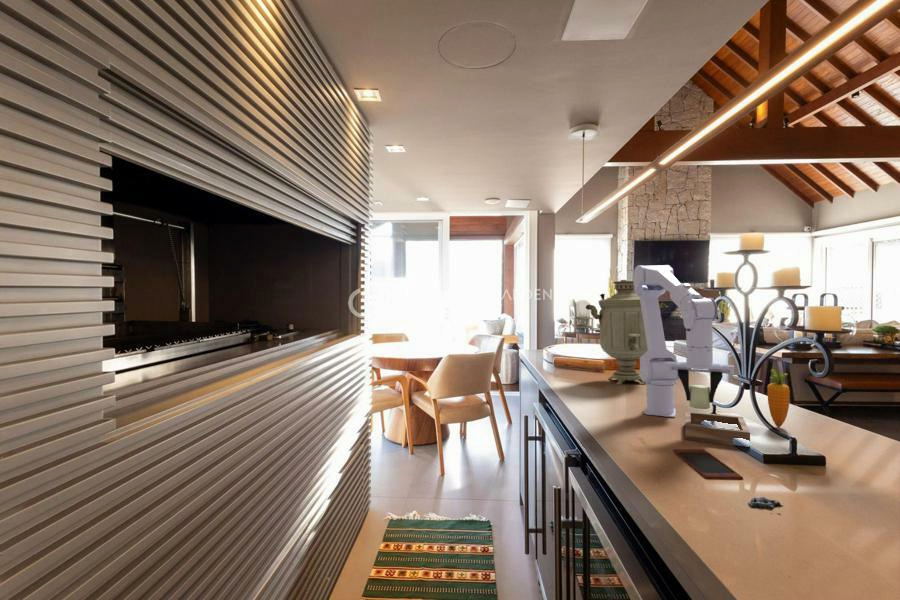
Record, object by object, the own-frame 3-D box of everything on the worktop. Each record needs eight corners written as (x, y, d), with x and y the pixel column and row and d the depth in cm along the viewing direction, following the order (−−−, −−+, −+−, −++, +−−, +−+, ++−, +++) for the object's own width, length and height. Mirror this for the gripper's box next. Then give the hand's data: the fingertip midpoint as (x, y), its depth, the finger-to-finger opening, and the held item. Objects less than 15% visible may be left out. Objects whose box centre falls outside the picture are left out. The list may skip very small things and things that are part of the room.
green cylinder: (689, 403, 113) (689, 384, 113) (709, 405, 111) (709, 385, 111) (689, 407, 109) (689, 387, 109) (709, 409, 107) (709, 389, 107)
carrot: (794, 430, 112) (794, 372, 112) (772, 429, 113) (772, 371, 113) (784, 424, 117) (783, 368, 116) (763, 424, 118) (762, 368, 117)
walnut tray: (685, 424, 119) (685, 411, 119) (742, 430, 113) (742, 416, 112) (685, 439, 106) (685, 425, 106) (750, 447, 100) (750, 432, 100)
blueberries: (804, 518, 71) (804, 507, 71) (763, 520, 69) (763, 508, 69) (765, 500, 77) (766, 489, 77) (727, 501, 76) (728, 490, 76)
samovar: (582, 387, 166) (581, 281, 165) (588, 374, 190) (588, 282, 190) (670, 393, 155) (669, 279, 154) (665, 379, 179) (664, 280, 178)
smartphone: (705, 476, 84) (671, 448, 99) (705, 481, 84) (671, 452, 99) (744, 476, 84) (704, 448, 99) (744, 481, 84) (704, 453, 99)
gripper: (666, 347, 110) (666, 401, 110) (735, 350, 103) (735, 407, 103) (667, 344, 116) (667, 395, 116) (732, 346, 109) (732, 401, 109)
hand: (699, 400), depth 110 cm, fingers closed on green cylinder, 4 cm apart
